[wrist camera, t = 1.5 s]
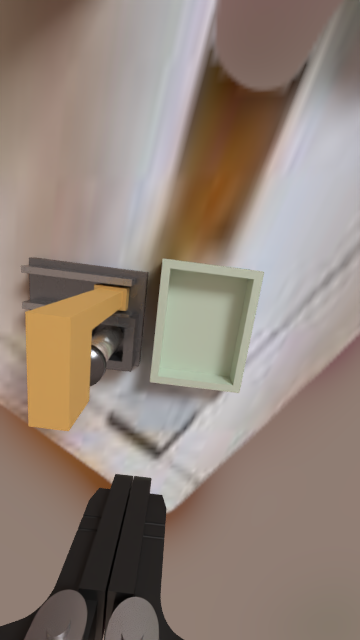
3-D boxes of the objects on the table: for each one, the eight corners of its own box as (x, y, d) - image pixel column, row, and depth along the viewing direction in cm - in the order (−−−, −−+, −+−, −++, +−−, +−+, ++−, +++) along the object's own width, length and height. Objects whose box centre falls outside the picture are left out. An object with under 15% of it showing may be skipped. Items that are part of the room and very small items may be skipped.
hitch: (34, 257, 32) (13, 257, 28) (148, 272, 32) (143, 274, 28) (36, 350, 35) (17, 361, 31) (139, 362, 35) (134, 375, 31)
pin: (96, 318, 32) (59, 343, 23) (128, 322, 32) (104, 349, 23) (95, 348, 33) (59, 384, 24) (125, 352, 33) (102, 389, 24)
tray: (164, 258, 31) (162, 258, 28) (255, 270, 32) (264, 271, 28) (152, 370, 35) (149, 382, 32) (234, 380, 35) (239, 393, 32)
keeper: (98, 283, 31) (17, 305, 16) (129, 287, 31) (78, 312, 16) (95, 350, 33) (21, 425, 18) (124, 354, 33) (75, 432, 18)
